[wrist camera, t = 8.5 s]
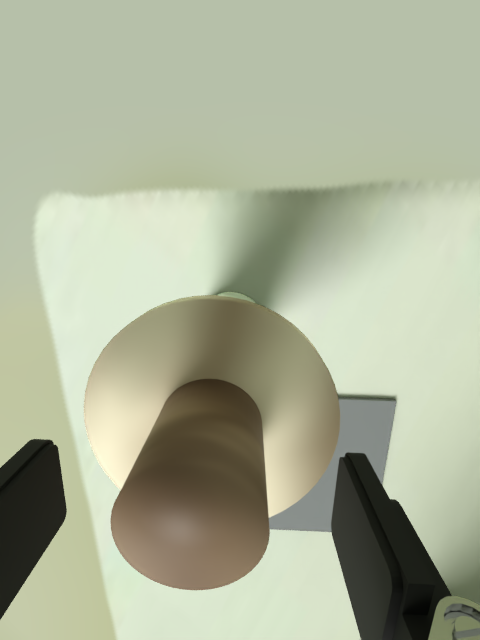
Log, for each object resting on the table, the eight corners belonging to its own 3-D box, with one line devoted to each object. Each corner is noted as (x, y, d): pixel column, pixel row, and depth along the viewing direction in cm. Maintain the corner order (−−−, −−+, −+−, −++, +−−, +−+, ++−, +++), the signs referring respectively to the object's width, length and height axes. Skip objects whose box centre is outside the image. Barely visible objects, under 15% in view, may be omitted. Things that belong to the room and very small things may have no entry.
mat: (394, 399, 30) (396, 401, 30) (372, 530, 35) (373, 533, 34) (229, 392, 31) (229, 395, 30) (226, 523, 35) (226, 526, 34)
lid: (346, 298, 13) (424, 348, 7) (323, 513, 16) (366, 674, 10) (82, 292, 13) (-49, 336, 7) (106, 505, 16) (25, 658, 10)
